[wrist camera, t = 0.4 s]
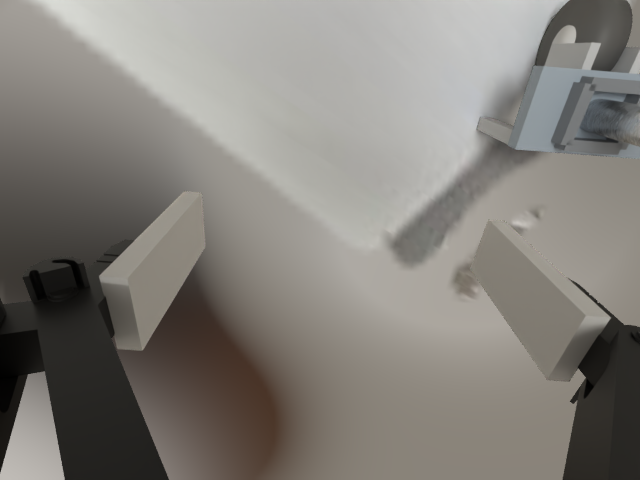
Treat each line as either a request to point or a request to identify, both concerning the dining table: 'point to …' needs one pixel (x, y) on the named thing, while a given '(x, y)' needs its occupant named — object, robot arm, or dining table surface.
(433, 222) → the dining table surface
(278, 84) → the dining table surface
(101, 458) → the robot arm
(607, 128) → the pin
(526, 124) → the cart
